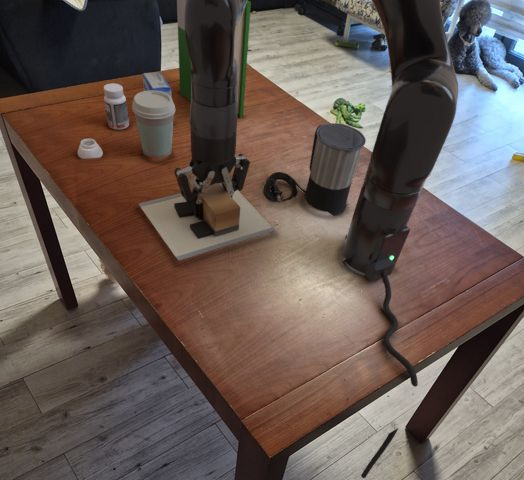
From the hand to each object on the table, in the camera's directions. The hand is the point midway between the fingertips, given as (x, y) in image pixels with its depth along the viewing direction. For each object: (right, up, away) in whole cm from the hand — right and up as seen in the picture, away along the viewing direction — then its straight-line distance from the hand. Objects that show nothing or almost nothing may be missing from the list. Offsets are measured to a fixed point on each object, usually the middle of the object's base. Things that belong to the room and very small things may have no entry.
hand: (212, 213), depth 89 cm
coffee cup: (-13, +16, +13) cm, 25 cm away
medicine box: (-15, +29, +23) cm, 41 cm away
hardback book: (-4, +36, +30) cm, 47 cm away
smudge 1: (-5, 0, 0) cm, 5 cm away
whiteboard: (-1, -2, +1) cm, 2 cm away
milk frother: (+18, +5, +9) cm, 21 cm away
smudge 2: (-2, -4, -3) cm, 5 cm away
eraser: (0, 0, 0) cm, 0 cm away
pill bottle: (-24, +26, +19) cm, 40 cm away
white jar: (-27, +15, +11) cm, 33 cm away
